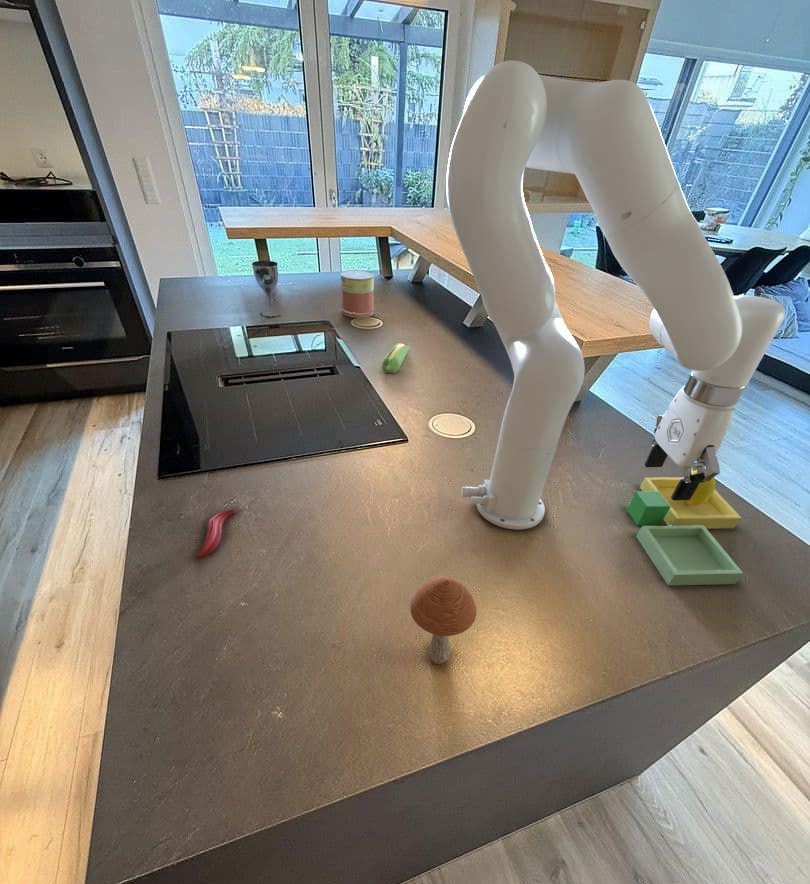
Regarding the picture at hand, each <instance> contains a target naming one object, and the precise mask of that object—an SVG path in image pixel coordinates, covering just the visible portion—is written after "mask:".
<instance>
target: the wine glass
mask: <svg viewBox="0 0 810 884" xmlns="http://www.w3.org/2000/svg"><path fill="white" fill-rule="evenodd" d="M251 268H252V272H253V277H254V280H255V282H256V284H257V285H258V286H259V288H260V289H261V290H262V291H263V292H264V293H265V295H266V297H267V301H268V307H272V308H273V306H272V294H273V292H274V290H275V289H276V287H277V286H278V282H279V264H278V262H276V261H273V260H272V261H271V260H257V261H253V262H251Z"/></svg>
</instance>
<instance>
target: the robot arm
mask: <svg viewBox="0 0 810 884" xmlns="http://www.w3.org/2000/svg"><path fill="white" fill-rule="evenodd" d="M526 168H528V169H534V170H541V171H548V172H555V173H556V172H557V173H564V174H571V175H572V174H573V175H575V177H576V179H577V181H578V183H579V185H580V187H581V190H582V191H583V193H584V195H585V197H586V200H587V202H588V203H589V205H590V208H591V209H592V212H593V214H594V216H595V218H596V220H597V222H598V224H599V226H600V228H601V230H602V234H603V235H604V237H605V239H606V242H607V243H608V246H609V248H610V250H611V252H612V255H613V256H614V257H615V259H616V261H617V262H618V264H619V265H620V267H621V269H622V270H623V271H624V273H626V274H627V276H628V277H629V278H630V279H631V280H632V281H633V282H634V284H635V285H636V286H637V287H638V288H639V289H640V290H641V291H642V293H643V294H644V295H645V296H646V298H647V299H648V301H649V303H650V304H651V306H652V307H653V309H652V311H651V313H650V317H649V329H650V332H651V335H652V337H653V338H654V339H655V341H656V342H657V343H658V344H659V345H660V346H661V347H662V348H663V349H664V350H665V351H666V352H667V353H669V355H670V356H672V357H673V359H675V361H676V362H677V363H678V364H679V365H680V366H682V367H683V368H685V369H687V370H690V371H691V372H690V374H689V375H688V379H687V381H686V382H685V385H683V386H681V387H680V389H679V390H678V391H677V393H676V394H675V396H674V397H673V399H672V400H671V402H670V403H669V405H668V407H667V409H666V410H665V412H664V414H658V415H657V417H656V424H655V428H654V430H653V434H654V435H653V437H654V439H652V441H651V446H652V447H651V449H650V451H649V453H648V456H647V458H646V460H645V461H644V467H645V468H662V467H663V466H664V464H665V462H666V460H667V458H668V457H669V458H670V459H671V461H673V462H674V464H676V465H677V467H680V468H683V478H684V479H681V480H680V481H679V483H678V485H677V487H676V488H675V490H674V492H673V494H672V496H671V498H672V500H674V501H676V500H690V499H691V497H692V496H693V494H694V492H695V490H696V489H697V487H698V485H699V483H704V482H706V481H710V480H711V479H712V478H713V477H714V478H715V477H716V476H717V475H720V473H721V466H720V464H719V461H718V458H717V455H716V454H718V451H719V449H720V448H721V445H722V444H723V442H724V439H725V437H726V435H727V433H728V430H729V427H730V425H731V423H732V420H733V418H734V414H735V411H736V408H735V407H736V406H737V404H738V402H739V400H740V399H741V397H742V396H743V393H744V392H745V390H746V388H747V386H748V384H749V382H750V380H751V379H752V377H753V375H754V373H755V372H756V370H757V368H758V367H759V365H760V363H761V361H762V359H763V358H764V355H765V354H766V352H767V350H768V348H769V346H770V345H771V343H772V341H773V340H774V337H776V334H777V332H778V331H779V329H780V327H781V325H782V323H783V321H784V319H785V316H786V308H785V307H784V305H783V304H781V303H780V302H778V301H776V300H773V299H770V298H768V297H762V296H757V295H745V294H743V295H734V292H733V290H732V287H731V284H730V281H729V279H728V277H727V274H726V272H725V271H724V269H723V266H722V265H721V263H720V261H719V259H718V257H717V256H716V254H715V252H714V251H713V249H712V247H711V245H710V244H709V242H708V240H707V238H706V236H705V235H704V232H703V230H702V228H701V226H700V225H699V223H698V221H697V219H696V218H695V217H694V215H693V213H692V211H691V209H690V207H689V205H688V203H687V200H686V197H685V194H684V193H683V190H682V187H681V184H680V182H679V179H678V176H677V174H676V171H675V169H674V165H673V163H672V160H671V157H670V154H669V152H668V149H667V146H666V144H665V140H664V138H663V135H662V132H661V129H660V126H659V124H658V121H657V118H656V115H655V113H654V111H653V107H652V105H651V103H650V101H649V98H648V97H647V95H646V94H645V92H644V91H643V89H642V88H641V87H640V86H639V85H638V84H637V83H635V82H633V81H631V80H627V79H612V80H611V79H610V80H605V81H600V82H597V81H595V82H594V81H581V80H573V79H565V78H560V77H554V76H548V75H543V74H539V73H538V72H537V71H536V70H535V68H534V67H533V66H531V65H530V64H528V63H526V62H523V61H520V60H505V61H501V62H499V63H497V64H495V65H494V66H492V67H491V68H489V69H488V70H487V71H485V72H484V73H483V74H482V75H481V76H480V77H479V78H478V79H477V80H476V82H475V83H474V84H473V86H472V88H471V89H470V91H469V93H468V95H467V98H466V100H465V105H464V108H463V114H462V116H461V119H460V121H459V124H458V127H457V128H456V132H455V135H454V137H453V140H452V143H451V146H450V151H449V155H448V161H447V170H446V187H445V188H446V201H447V208H448V212H449V216H450V220H451V224H452V226H453V229H454V232H455V235H456V237H457V240H458V242H459V244H460V247H461V250H462V252H463V255H464V256H465V259H466V261H467V264H468V266H469V269H470V272H471V274H472V276H473V278H474V281H475V283H476V285H477V288H478V290H479V292H480V297H481V300H482V303H483V306H484V309H485V313H486V314H487V316H488V318H489V319H490V320H491V322H492V324H493V325H494V327H495V329H496V331H497V333H498V335H499V337H500V340H501V342H502V344H503V346H504V349H505V350H506V353H507V356H508V358H509V361H510V364H511V368H512V372H513V376H514V377H513V384H512V389H511V392H510V394H509V398H508V401H507V403H506V405H505V409H504V412H503V417H502V422H501V426H500V432H499V436H498V441H497V445H496V450H495V454H494V459H493V463H492V467H491V473H490V476H489V479H484V480H483V484H479V485H477V486H461V488H460V495H461V498H469V503H470V505H476V509H477V511H478V513H479V514H480V515H481V516H482V517H483V518H484V519H485V520H487V521H488V522H489V523H491V524H492V525H494V526H497V527H500V528H503V529H508V530H514V531H515V530H528V529H531V528H534V527H536V526H537V525H539V524H540V523H541V522H542V521H543V519H544V516H545V513H546V507H545V504H544V502H543V500H542V498H541V497H542V494H543V491H544V488H545V485H546V481H547V479H548V476H549V473H550V469H551V466H552V464H553V460H554V457H555V455H556V452H557V451H556V450H557V448H558V445H559V441H560V438H561V434H562V432H563V429H564V427H565V424H566V421H567V418H568V415H569V413H570V411H571V409H572V407H573V405H574V403H575V400H576V399H577V397H578V395H579V393H580V391H581V389H582V386H583V383H584V380H585V374H586V373H585V372H586V371H585V370H586V368H585V359H584V356H583V352H582V350H581V348H580V345H578V343H577V341H576V340H575V338H574V336H573V335H572V334H571V333H570V331H569V329H568V328H567V326H566V324H565V322H564V320H563V319H564V318H563V316H562V314H561V312H560V308H559V306H558V303H557V300H556V286H555V280H554V277H553V274H552V271H551V269H550V268H549V265H548V264H547V262H546V261H545V258H544V256H543V255H544V254H543V252H542V250H541V248H540V245H539V242H538V239H537V236H536V234H535V231H534V228H533V224H532V221H531V218H530V214H529V211H528V207H527V205H526V202H525V197H524V191H523V187H524V186H523V183H524V174H525V170H526ZM693 468H696V470H697V474H694V475H692V471H693Z"/></svg>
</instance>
